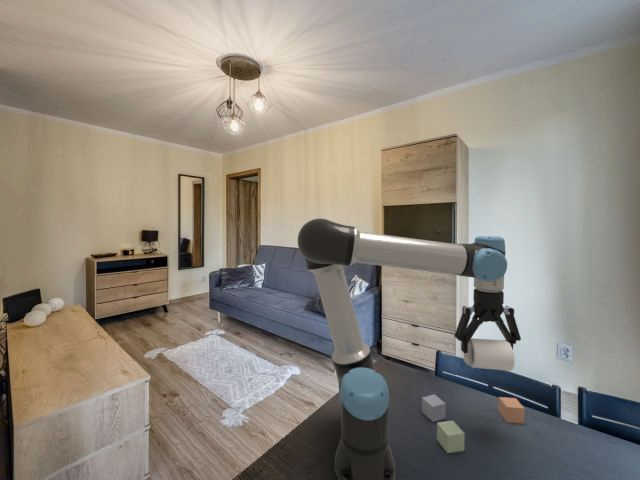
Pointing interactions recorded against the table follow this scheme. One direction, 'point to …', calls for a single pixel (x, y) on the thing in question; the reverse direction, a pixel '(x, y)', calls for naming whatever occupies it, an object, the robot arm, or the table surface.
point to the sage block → (450, 436)
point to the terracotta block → (511, 410)
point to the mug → (491, 354)
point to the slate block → (433, 408)
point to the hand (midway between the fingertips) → (486, 363)
